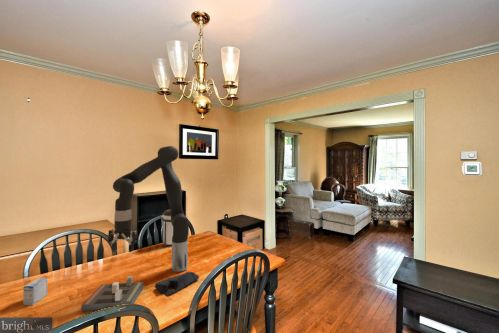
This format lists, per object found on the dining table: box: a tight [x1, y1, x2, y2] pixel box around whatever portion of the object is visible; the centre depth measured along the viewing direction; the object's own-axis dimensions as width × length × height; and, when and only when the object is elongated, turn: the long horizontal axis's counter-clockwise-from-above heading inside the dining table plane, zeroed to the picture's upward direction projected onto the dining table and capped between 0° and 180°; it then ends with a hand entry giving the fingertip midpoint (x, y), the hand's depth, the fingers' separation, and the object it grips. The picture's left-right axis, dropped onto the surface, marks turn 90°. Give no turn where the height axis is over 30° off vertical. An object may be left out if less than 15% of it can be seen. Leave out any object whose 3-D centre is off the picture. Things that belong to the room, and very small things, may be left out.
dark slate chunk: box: [154, 271, 200, 297], centre depth 122 cm, size 15×22×5 cm
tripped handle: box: [111, 281, 120, 293], centre depth 107 cm, size 2×2×4 cm
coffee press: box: [160, 209, 173, 248], centre depth 182 cm, size 17×16×30 cm
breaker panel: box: [81, 275, 144, 313], centre depth 107 cm, size 20×17×7 cm
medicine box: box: [22, 277, 48, 306], centre depth 106 cm, size 8×4×9 cm, turn 5°
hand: (122, 251), depth 113 cm, fingers open, 8 cm apart
